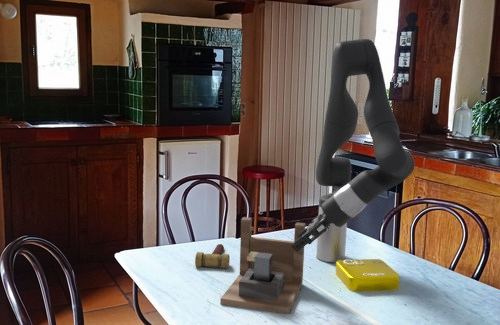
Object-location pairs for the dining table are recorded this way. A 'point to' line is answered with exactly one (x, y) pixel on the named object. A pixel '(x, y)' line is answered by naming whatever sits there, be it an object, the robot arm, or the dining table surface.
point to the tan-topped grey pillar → (261, 266)
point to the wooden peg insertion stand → (283, 273)
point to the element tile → (367, 275)
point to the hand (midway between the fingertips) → (297, 243)
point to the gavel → (213, 258)
